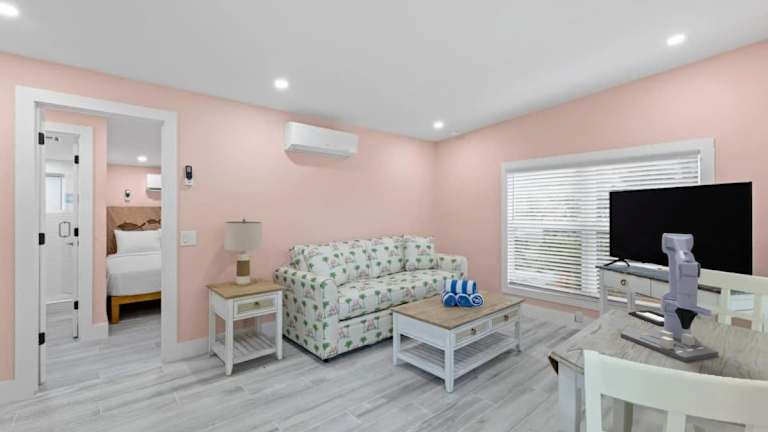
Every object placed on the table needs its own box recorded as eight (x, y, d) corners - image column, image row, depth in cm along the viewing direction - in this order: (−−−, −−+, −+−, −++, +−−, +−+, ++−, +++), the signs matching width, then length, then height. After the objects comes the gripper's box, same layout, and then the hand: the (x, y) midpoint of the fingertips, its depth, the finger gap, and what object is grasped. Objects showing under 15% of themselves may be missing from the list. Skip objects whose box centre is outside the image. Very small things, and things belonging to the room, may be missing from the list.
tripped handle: (664, 339, 138) (664, 330, 137) (672, 342, 135) (673, 333, 135) (659, 340, 137) (660, 331, 137) (668, 343, 134) (668, 334, 134)
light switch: (624, 310, 176) (648, 307, 178) (624, 316, 176) (649, 312, 178) (659, 323, 157) (686, 320, 158) (659, 330, 157) (686, 326, 158)
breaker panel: (650, 332, 150) (651, 320, 150) (717, 355, 127) (718, 342, 127) (620, 336, 145) (621, 324, 144) (684, 361, 122) (685, 347, 121)
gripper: (659, 289, 135) (657, 323, 135) (702, 299, 121) (701, 337, 121) (671, 288, 137) (670, 321, 137) (715, 298, 123) (714, 335, 123)
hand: (685, 328), depth 129 cm, fingers closed
